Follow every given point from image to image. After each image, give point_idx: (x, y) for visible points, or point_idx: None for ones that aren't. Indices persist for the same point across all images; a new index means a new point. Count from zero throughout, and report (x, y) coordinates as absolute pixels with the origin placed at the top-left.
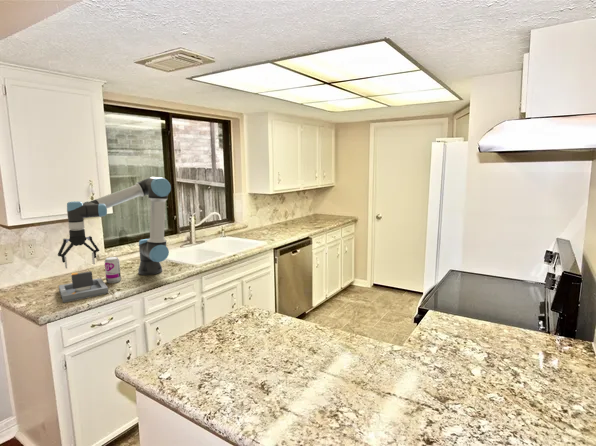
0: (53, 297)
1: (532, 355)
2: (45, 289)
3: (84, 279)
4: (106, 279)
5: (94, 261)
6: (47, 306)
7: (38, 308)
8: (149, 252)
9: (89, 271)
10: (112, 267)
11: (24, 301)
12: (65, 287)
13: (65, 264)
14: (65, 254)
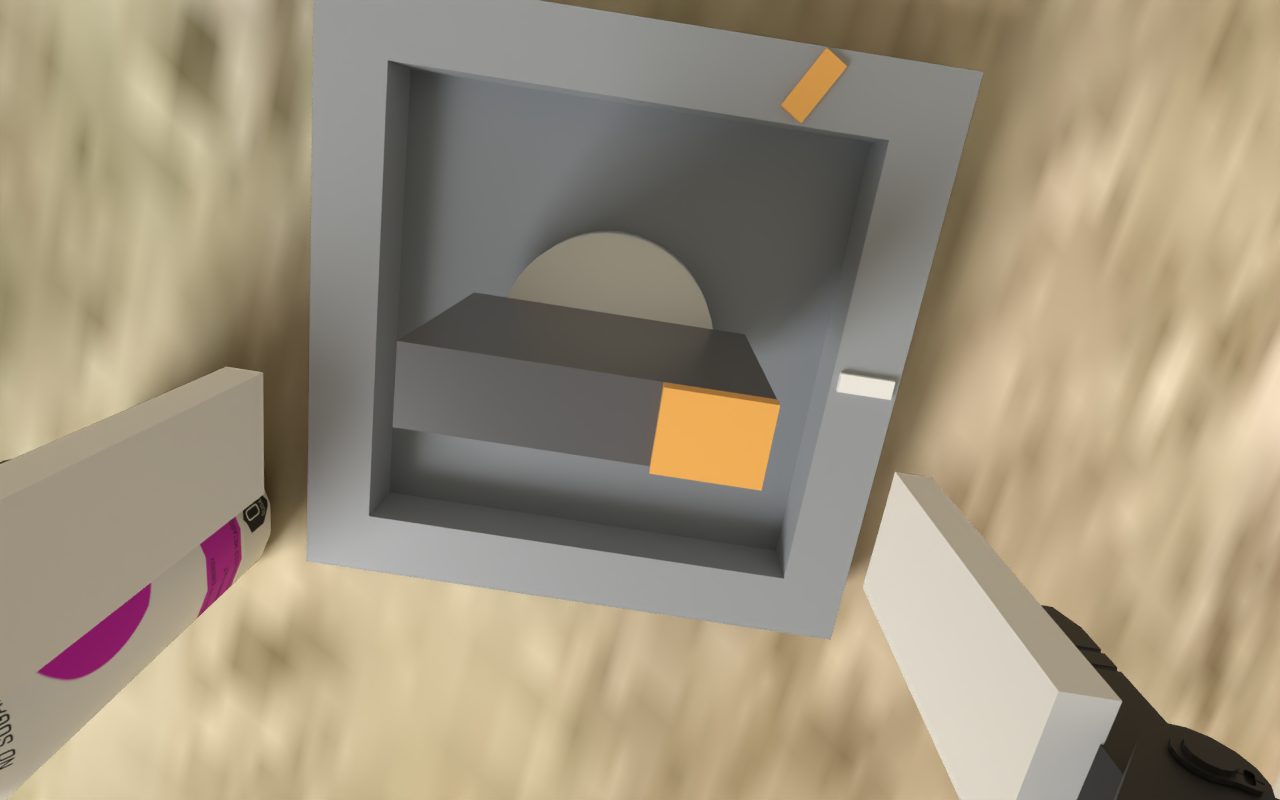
0: (946, 406)
1: None
2: (899, 757)
3: (568, 335)
4: (254, 526)
5: (175, 389)
6: (1139, 82)
7: (1245, 89)
8: None
9: (426, 422)
10: None
11: (1220, 507)
12: (766, 561)
13: (973, 527)
14: (1145, 798)
